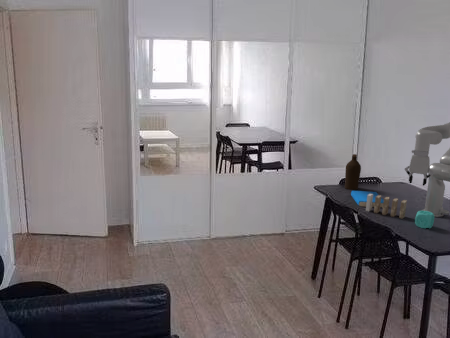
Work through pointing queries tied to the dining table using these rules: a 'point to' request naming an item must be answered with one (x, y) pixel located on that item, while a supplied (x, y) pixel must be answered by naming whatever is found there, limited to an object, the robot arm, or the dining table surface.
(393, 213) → the domino
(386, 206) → the domino
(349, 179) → the olive oil
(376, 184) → the dining table surface
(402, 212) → the domino
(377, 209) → the domino
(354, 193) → the book
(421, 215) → the decorative dice
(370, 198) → the end domino
